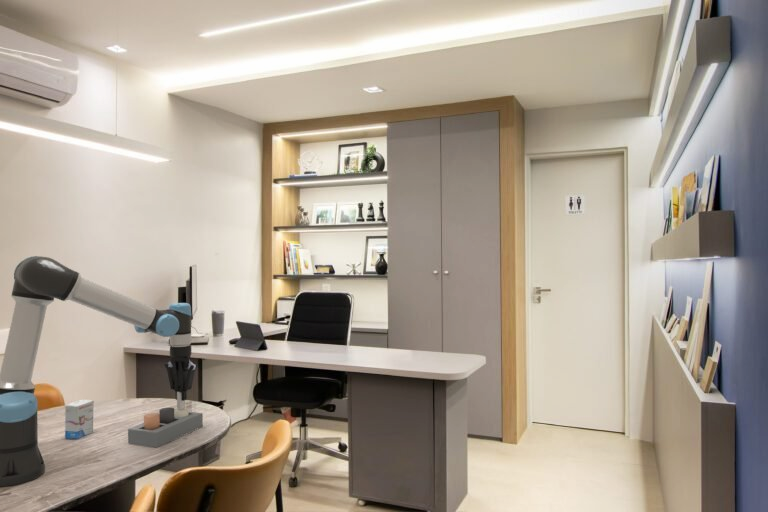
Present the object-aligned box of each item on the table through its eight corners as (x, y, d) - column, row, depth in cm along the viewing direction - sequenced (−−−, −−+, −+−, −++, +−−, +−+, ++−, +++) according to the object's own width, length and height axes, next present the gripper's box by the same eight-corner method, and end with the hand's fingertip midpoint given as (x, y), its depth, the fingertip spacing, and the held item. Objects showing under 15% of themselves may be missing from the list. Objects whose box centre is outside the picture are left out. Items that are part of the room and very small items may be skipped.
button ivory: (182, 428, 206) (182, 412, 206) (171, 427, 208) (170, 410, 207) (191, 424, 211) (191, 408, 210) (180, 423, 212) (180, 407, 212)
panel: (156, 447, 189) (156, 432, 189) (128, 443, 193) (128, 429, 193) (202, 426, 211) (202, 413, 211) (176, 423, 215) (176, 410, 215)
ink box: (77, 439, 197) (76, 405, 197) (64, 438, 198) (64, 405, 198) (94, 431, 206) (93, 399, 205) (82, 431, 207) (81, 398, 206)
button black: (167, 429, 199) (167, 412, 199) (156, 427, 200) (156, 410, 200) (177, 424, 203) (177, 408, 203) (166, 423, 205) (166, 407, 205)
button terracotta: (152, 435, 192) (152, 418, 192) (140, 434, 193) (140, 416, 193) (162, 431, 196) (162, 414, 196) (151, 429, 198) (151, 412, 198)
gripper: (201, 344, 210) (202, 407, 210) (173, 342, 214) (173, 404, 215) (188, 347, 203) (189, 413, 203) (159, 345, 207) (159, 410, 208)
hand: (181, 408), depth 209 cm, fingers closed
